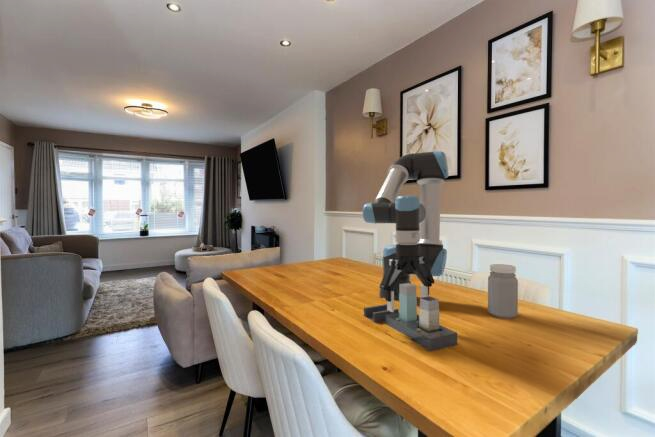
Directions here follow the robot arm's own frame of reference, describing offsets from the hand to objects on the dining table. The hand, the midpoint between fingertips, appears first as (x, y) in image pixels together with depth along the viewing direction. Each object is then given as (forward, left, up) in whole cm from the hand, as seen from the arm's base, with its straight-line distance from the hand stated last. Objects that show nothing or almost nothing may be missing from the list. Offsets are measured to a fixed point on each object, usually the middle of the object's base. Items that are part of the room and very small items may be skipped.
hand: (407, 308), depth 104 cm
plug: (0, 0, -6) cm, 6 cm away
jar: (-39, +4, -7) cm, 40 cm away
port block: (0, +5, -7) cm, 8 cm away
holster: (+3, -12, -7) cm, 14 cm away
